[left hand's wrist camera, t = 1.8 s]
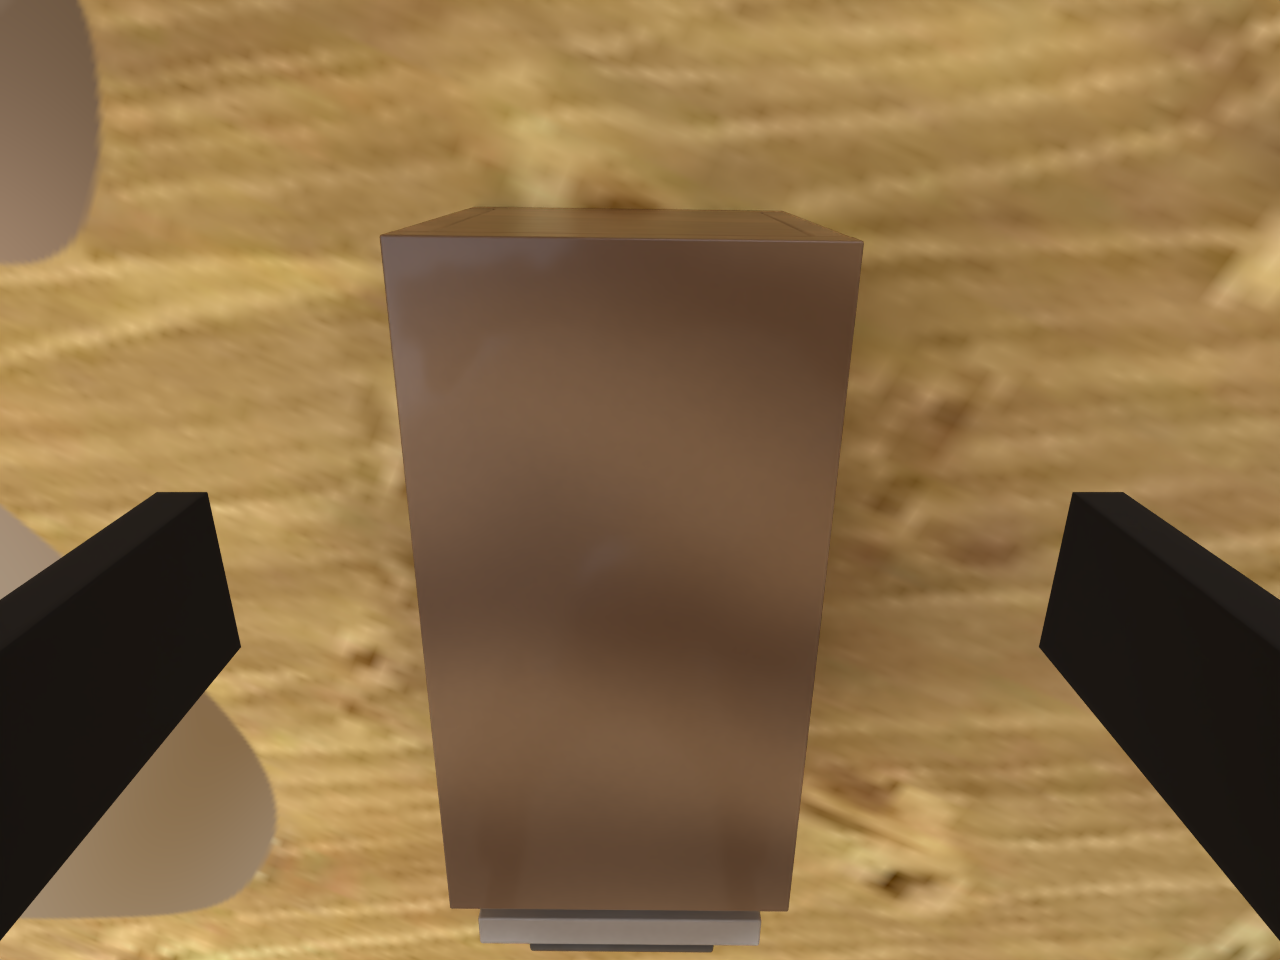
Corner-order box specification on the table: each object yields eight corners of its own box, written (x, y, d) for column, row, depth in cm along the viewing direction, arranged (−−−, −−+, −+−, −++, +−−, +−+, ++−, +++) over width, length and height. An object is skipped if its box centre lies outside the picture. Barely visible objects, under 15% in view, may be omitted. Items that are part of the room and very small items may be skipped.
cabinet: (747, 702, 35) (788, 912, 25) (502, 699, 35) (449, 909, 25) (784, 211, 28) (864, 240, 18) (471, 206, 27) (378, 234, 18)
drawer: (725, 870, 38) (748, 1062, 30) (522, 868, 38) (490, 1060, 30) (763, 332, 28) (811, 403, 20) (491, 329, 28) (431, 398, 20)
